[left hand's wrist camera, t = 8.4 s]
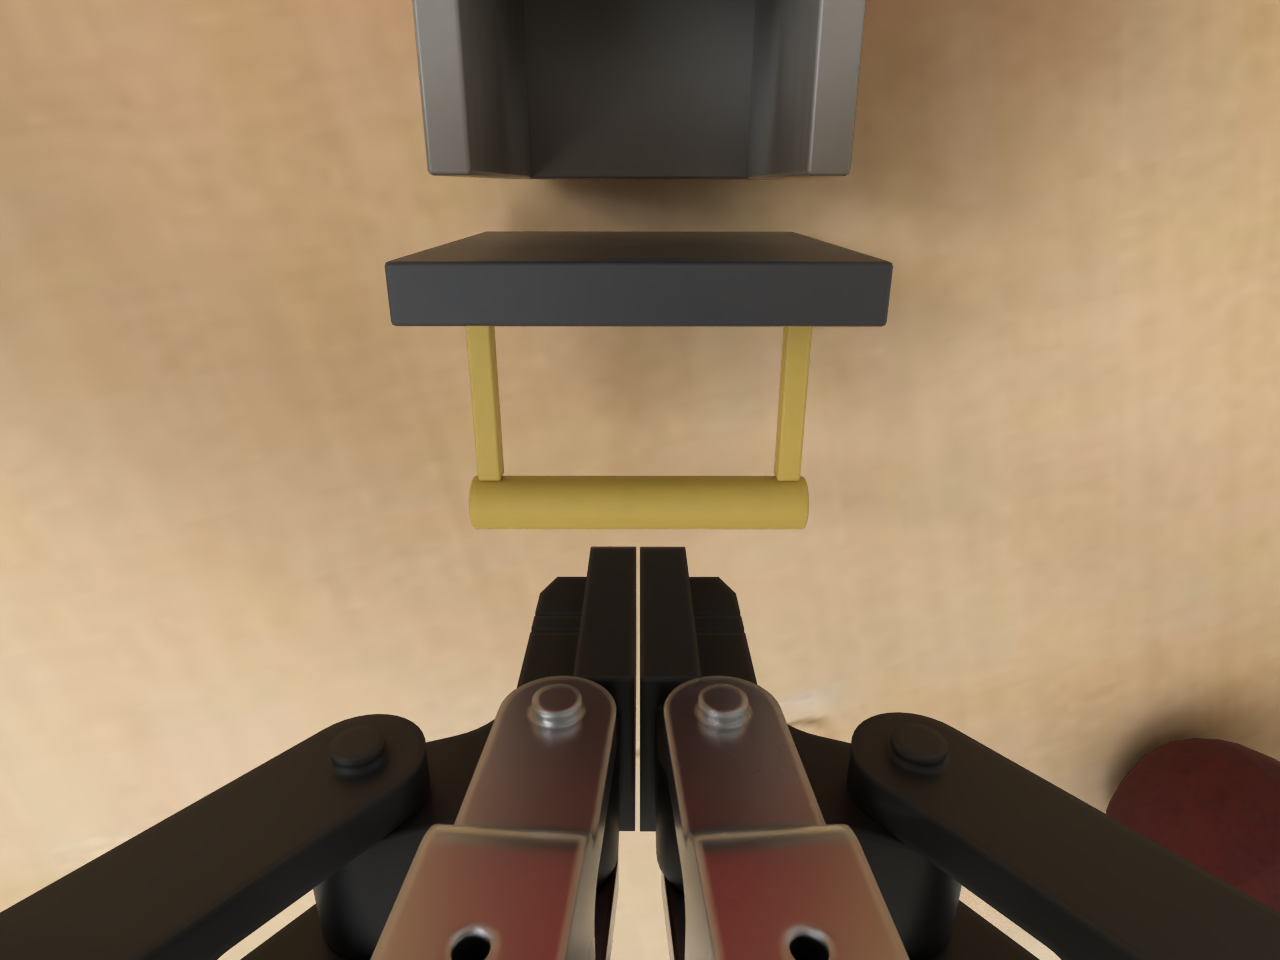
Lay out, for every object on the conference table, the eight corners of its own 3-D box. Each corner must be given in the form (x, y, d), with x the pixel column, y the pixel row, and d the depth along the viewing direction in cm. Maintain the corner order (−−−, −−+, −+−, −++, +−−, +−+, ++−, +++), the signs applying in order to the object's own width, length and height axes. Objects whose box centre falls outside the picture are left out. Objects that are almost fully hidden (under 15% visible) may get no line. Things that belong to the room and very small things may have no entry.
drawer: (778, 457, 26) (854, 607, 17) (499, 457, 26) (422, 606, 17) (839, -415, 18) (1046, -1034, 9) (439, -415, 18) (232, -1035, 9)
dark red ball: (1288, 784, 32) (1456, 939, 25) (1119, 874, 34) (1235, 1040, 27) (1211, 670, 30) (1371, 806, 23) (1035, 772, 32) (1139, 925, 25)
